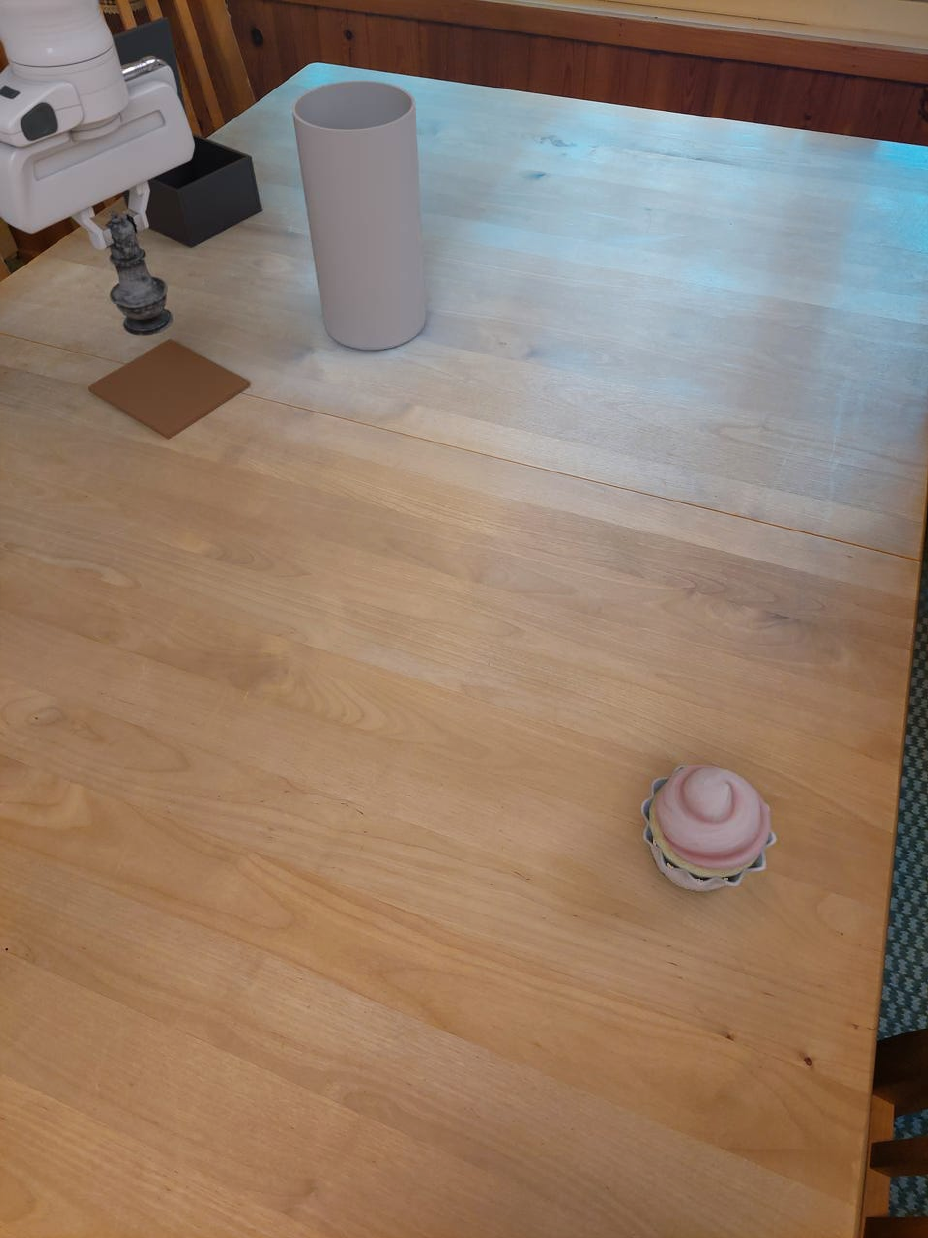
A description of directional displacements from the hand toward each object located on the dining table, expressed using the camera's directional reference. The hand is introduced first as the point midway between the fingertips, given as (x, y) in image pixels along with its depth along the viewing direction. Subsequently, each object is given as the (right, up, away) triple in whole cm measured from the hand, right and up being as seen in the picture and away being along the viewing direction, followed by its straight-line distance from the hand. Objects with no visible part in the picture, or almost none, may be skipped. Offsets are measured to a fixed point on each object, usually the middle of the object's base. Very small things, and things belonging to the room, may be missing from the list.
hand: (121, 237), depth 89 cm
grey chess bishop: (0, -6, +7) cm, 10 cm away
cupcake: (+51, -55, -23) cm, 78 cm away
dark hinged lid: (-9, +32, +30) cm, 45 cm away
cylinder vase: (+23, -2, +22) cm, 32 cm away
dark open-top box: (-4, +20, +40) cm, 45 cm away
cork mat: (0, -11, +14) cm, 18 cm away
